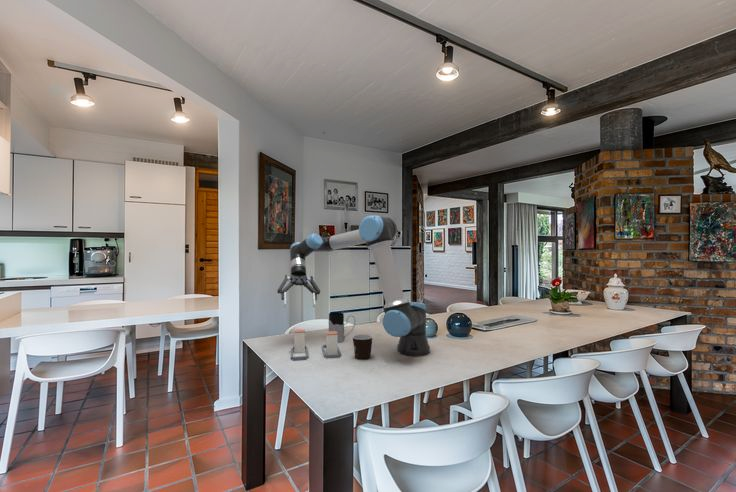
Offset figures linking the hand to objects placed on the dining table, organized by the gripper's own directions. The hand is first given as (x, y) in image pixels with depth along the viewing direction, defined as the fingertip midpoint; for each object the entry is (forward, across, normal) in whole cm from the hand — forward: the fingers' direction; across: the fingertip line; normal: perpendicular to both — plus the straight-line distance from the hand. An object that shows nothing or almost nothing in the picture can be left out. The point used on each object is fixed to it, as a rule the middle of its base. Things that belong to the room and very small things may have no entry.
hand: (299, 305), depth 162 cm
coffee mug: (+28, -26, +3) cm, 38 cm away
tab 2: (+23, -14, -3) cm, 27 cm away
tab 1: (+18, -1, -10) cm, 21 cm away
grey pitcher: (+10, -24, -19) cm, 32 cm away
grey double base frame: (+22, -7, -7) cm, 24 cm away
